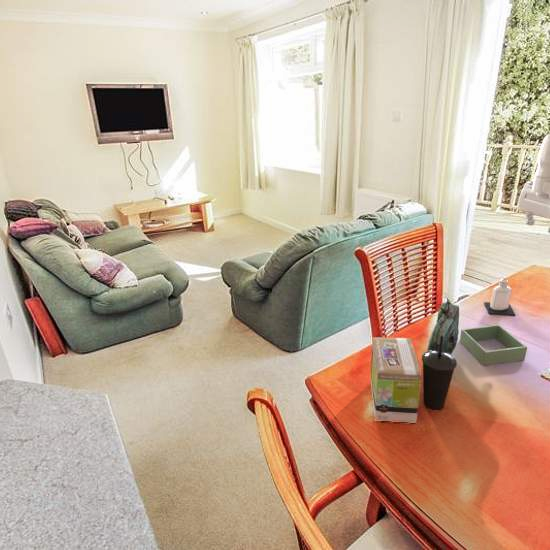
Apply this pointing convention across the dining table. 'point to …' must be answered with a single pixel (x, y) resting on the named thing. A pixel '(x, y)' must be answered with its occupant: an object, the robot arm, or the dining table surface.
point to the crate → (511, 354)
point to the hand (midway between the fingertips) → (540, 228)
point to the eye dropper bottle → (501, 296)
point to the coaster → (499, 312)
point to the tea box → (395, 379)
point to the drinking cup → (437, 376)
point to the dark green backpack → (445, 328)
